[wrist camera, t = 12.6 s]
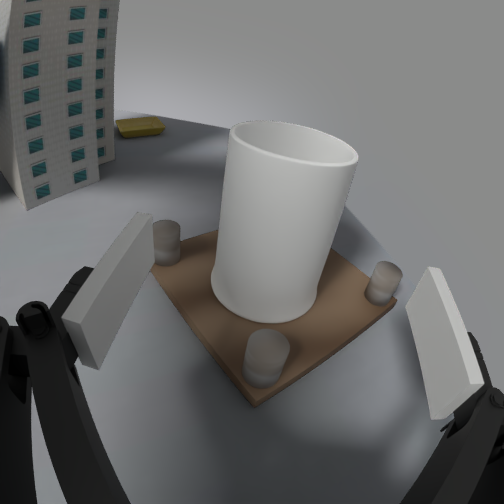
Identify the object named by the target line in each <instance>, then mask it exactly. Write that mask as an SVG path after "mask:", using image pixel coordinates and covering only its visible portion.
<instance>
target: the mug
mask: <svg viewBox="0 0 504 504" xmlns="http://www.w3.org/2000/svg"><path fill="white" fill-rule="evenodd" d="M358 159H359V157H358V154H357V152H356V151H355V150H354V149H353V148H352V147H351V146H350V145H348V144H347V143H345V142H343V141H342V140H340V139H338V138H336V137H334V136H332V135H329V134H327V133H324V132H322V131H319V130H316V129H312V128H309V127H305V126H301V125H296V124H291V123H285V122H277V121H250V122H243V123H239V124H237V125H235V126H233V127H232V128H231V129H230V133H229V141H228V149H227V157H226V166H225V174H224V183H223V192H222V202H221V211H220V221H219V231H218V241H217V251H216V259H215V265H214V267H213V270H212V273H211V285H212V289H213V292H214V294H215V295H216V297H217V298H218V300H219V301H220V302H221V303H222V304H223V305H224V306H225V307H226V308H227V309H228V310H230V311H231V312H233V313H235V314H236V315H238V316H240V317H243V318H245V319H248V320H251V321H255V322H260V323H271V324H273V323H284V322H288V321H292V320H295V319H297V318H299V317H301V316H302V315H304V314H305V313H306V312H307V311H308V310H309V309H310V308H311V307H312V305H313V304H314V302H315V299H316V295H317V286H318V282H319V279H320V276H321V273H322V271H323V268H324V265H325V262H326V259H327V256H328V254H329V251H330V248H331V245H332V242H333V239H334V236H335V233H336V230H337V227H338V224H339V221H340V218H341V215H342V212H343V209H344V206H345V202H346V199H347V196H348V193H349V189H350V186H351V183H352V180H353V176H354V173H355V170H356V166H357V163H358Z"/></svg>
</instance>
